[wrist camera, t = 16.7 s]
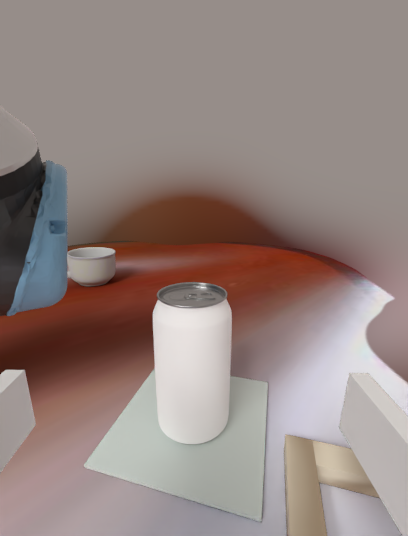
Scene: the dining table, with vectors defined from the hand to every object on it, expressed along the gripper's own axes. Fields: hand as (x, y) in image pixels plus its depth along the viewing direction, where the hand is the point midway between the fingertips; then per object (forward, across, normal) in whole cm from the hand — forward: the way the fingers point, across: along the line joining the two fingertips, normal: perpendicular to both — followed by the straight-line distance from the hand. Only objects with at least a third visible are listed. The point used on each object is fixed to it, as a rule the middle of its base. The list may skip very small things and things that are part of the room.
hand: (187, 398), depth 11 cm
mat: (+10, 0, -12) cm, 16 cm away
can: (+10, 0, -12) cm, 16 cm away
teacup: (+51, -28, -13) cm, 59 cm away
